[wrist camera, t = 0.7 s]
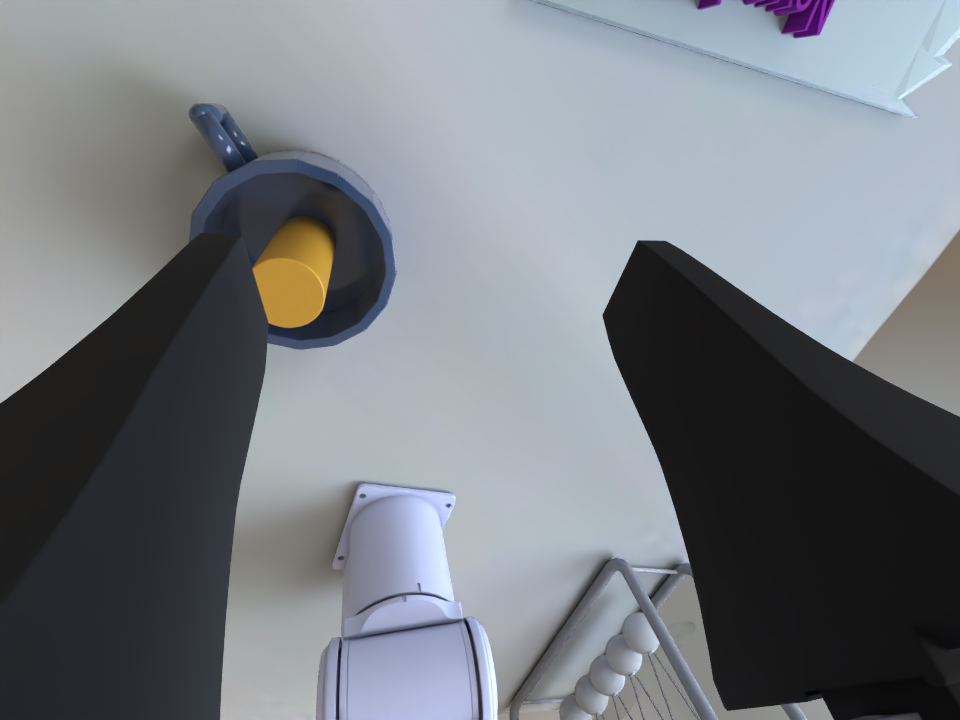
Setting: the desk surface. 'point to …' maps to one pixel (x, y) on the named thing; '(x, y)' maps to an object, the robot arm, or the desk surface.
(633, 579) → the newton's cradle
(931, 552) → the robot arm
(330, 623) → the desk surface
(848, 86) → the calendar
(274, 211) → the cup
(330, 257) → the peg
